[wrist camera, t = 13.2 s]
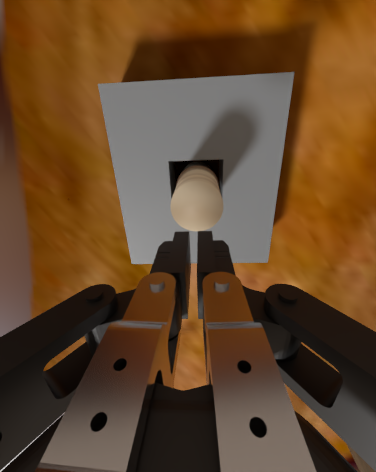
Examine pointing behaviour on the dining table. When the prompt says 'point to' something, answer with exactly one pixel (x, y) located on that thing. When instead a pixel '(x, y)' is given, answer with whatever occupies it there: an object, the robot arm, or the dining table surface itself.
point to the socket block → (198, 155)
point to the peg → (197, 198)
